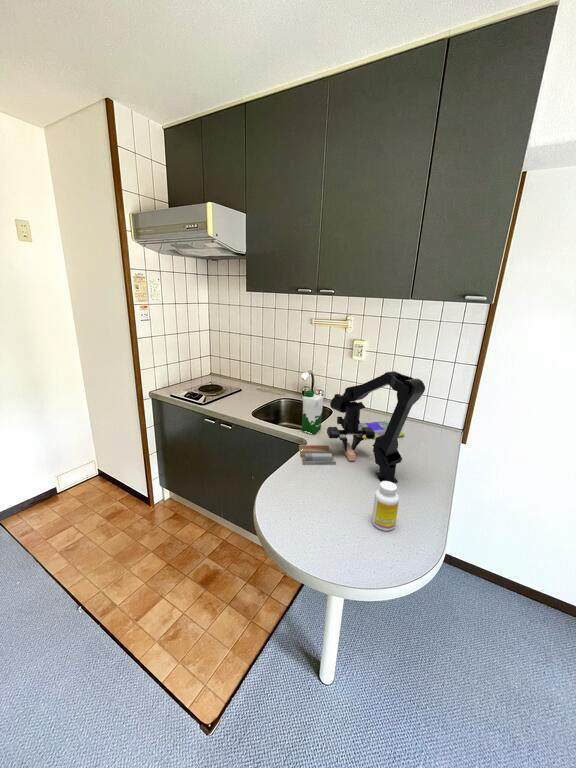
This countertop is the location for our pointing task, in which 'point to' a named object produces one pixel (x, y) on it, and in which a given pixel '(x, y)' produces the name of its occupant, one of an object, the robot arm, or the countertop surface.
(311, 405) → the milk carton
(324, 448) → the cord caddy
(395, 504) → the supplement bottle
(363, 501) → the countertop surface
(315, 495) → the countertop surface
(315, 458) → the grey square bar
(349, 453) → the two-tone eraser
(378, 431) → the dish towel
